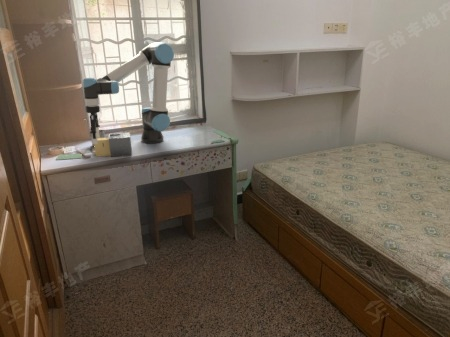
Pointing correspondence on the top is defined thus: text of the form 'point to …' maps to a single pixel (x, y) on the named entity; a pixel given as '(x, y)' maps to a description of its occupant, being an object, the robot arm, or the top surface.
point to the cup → (101, 133)
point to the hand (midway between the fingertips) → (96, 140)
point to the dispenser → (120, 144)
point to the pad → (69, 156)
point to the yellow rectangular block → (102, 147)
